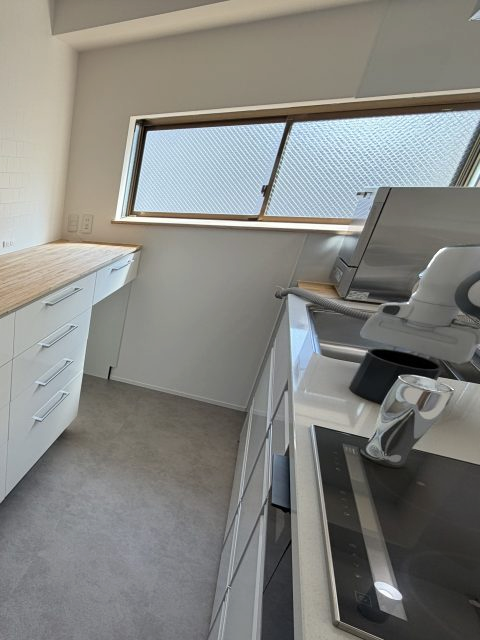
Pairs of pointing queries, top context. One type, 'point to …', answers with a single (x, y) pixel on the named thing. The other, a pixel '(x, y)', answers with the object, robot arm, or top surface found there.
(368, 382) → the pot
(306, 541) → the top surface
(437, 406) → the beer glass
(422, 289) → the robot arm
